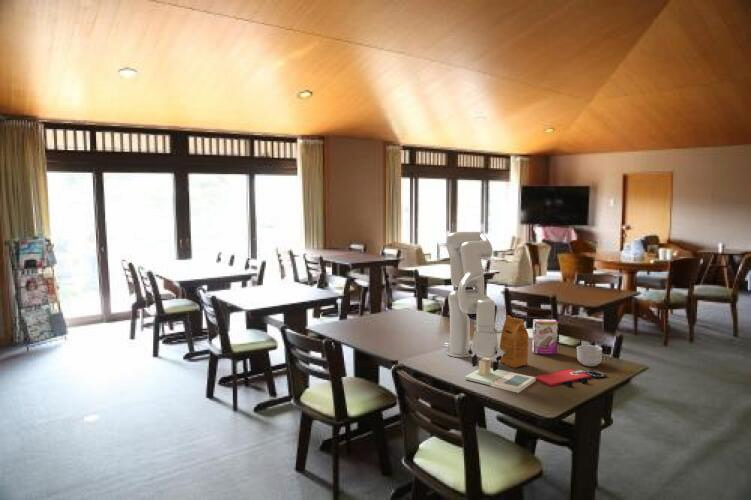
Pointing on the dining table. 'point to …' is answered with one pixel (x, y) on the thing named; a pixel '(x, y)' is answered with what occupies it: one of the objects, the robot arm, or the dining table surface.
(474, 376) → the green board with block
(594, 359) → the teacup
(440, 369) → the dining table surface
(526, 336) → the coffee package
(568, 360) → the dining table surface
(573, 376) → the red board with handle
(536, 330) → the candy bar box
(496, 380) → the ticket board
